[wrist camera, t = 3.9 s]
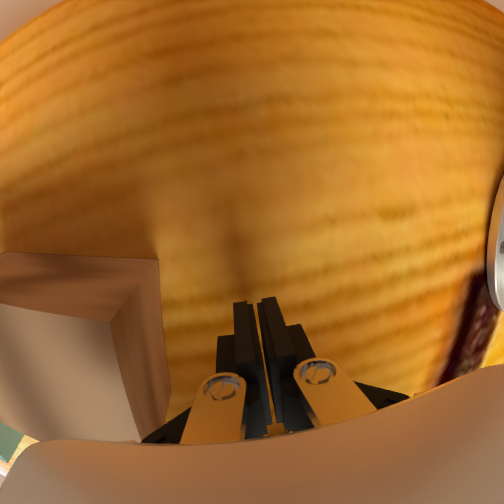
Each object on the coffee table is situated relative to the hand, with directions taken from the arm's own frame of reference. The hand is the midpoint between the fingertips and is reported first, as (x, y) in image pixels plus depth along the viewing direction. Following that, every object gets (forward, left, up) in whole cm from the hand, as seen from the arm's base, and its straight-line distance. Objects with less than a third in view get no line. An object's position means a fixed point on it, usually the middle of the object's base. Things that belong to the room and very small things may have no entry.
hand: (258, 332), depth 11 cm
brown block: (+10, 0, -2) cm, 10 cm away
